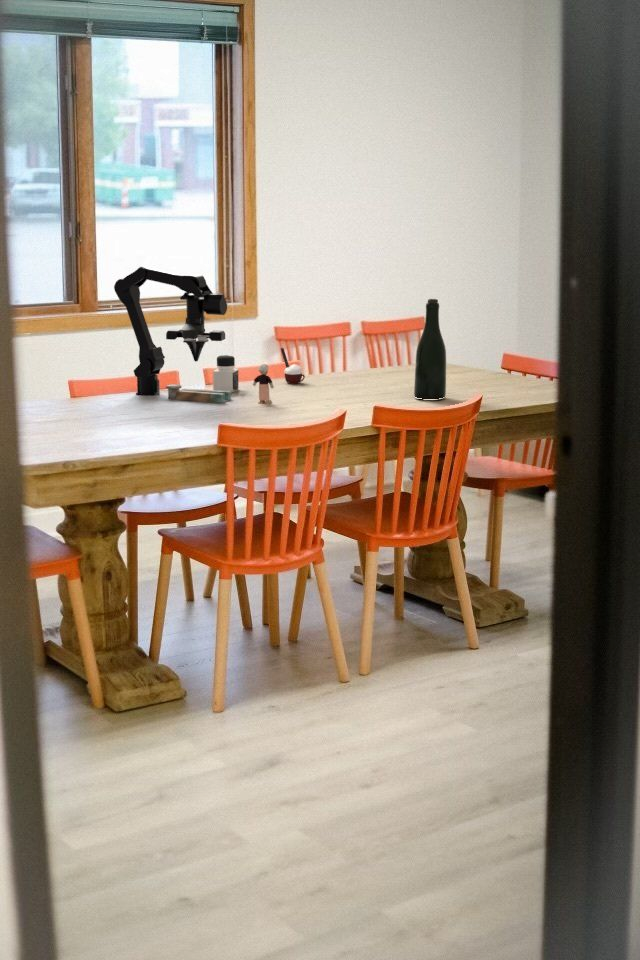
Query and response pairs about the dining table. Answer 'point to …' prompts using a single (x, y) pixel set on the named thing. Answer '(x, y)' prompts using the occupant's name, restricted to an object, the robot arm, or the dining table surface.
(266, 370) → the grandmother figurine
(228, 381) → the medicine bottle
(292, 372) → the cocoa
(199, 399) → the tong leg
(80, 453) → the dining table surface
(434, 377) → the dark wine bottle
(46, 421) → the dining table surface
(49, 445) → the dining table surface
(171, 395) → the base
